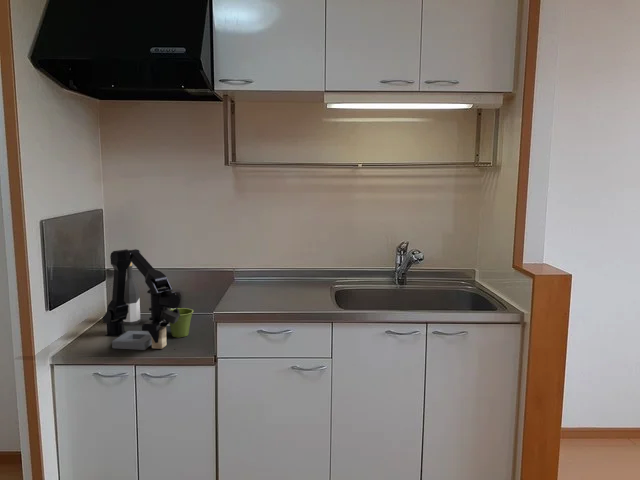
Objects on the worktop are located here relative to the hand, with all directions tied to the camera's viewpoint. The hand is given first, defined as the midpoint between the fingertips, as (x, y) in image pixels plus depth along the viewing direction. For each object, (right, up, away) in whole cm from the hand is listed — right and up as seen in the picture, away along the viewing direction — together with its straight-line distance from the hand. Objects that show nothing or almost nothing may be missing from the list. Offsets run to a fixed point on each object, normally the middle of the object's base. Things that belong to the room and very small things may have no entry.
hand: (159, 340), depth 196 cm
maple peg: (0, -3, 0) cm, 3 cm away
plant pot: (+4, -1, +17) cm, 17 cm away
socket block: (-12, -2, +5) cm, 13 cm away
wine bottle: (-25, +1, +34) cm, 42 cm away
